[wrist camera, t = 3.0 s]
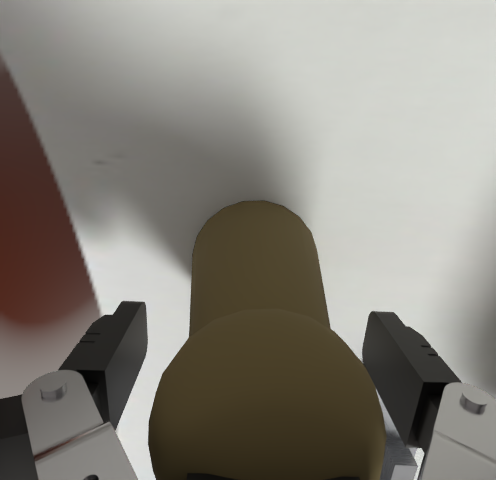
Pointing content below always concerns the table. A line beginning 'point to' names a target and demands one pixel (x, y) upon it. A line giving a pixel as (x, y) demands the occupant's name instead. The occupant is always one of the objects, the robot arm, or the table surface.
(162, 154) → the table surface
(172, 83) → the table surface
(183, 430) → the cork
